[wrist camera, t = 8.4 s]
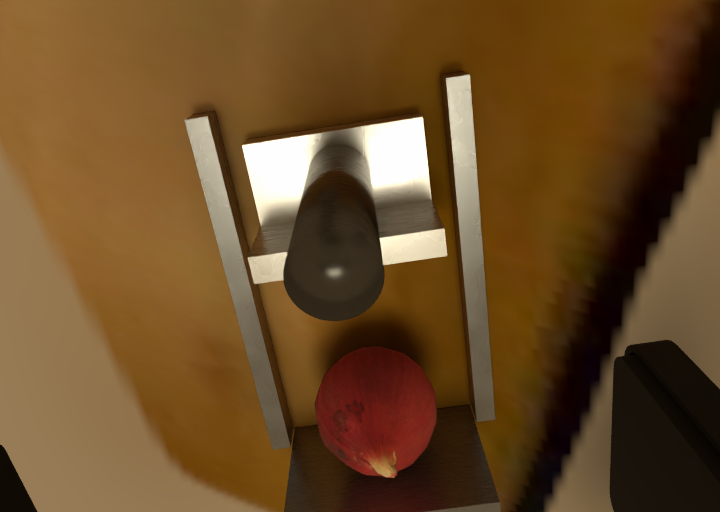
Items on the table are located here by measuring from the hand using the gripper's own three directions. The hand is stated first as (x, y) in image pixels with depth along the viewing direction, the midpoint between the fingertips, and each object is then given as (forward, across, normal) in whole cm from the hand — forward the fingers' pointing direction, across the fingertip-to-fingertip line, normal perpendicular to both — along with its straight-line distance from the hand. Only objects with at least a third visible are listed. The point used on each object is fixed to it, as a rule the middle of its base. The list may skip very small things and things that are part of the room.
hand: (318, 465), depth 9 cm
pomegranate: (+20, 0, +12) cm, 23 cm away
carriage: (+20, 0, +1) cm, 20 cm away
